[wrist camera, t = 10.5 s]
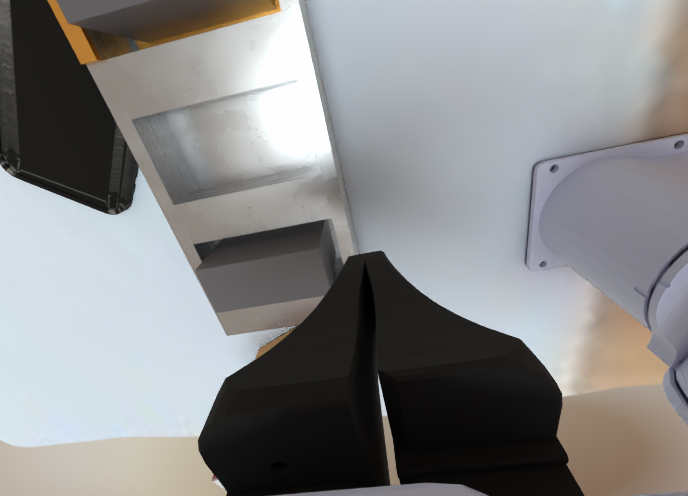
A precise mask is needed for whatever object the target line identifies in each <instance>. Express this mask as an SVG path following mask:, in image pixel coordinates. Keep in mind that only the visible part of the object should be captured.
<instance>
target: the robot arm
mask: <svg viewBox="0 0 688 496" xmlns="http://www.w3.org/2000/svg"><path fill="white" fill-rule="evenodd" d="M677 142H678V143H677ZM675 143H677V145H676V146H675V147H674V145H675ZM552 165H555V167H554V169H553V170H552V171H550V167H551V166H552ZM543 261H544V262H543ZM541 262H543V263H542V264H540V263H541ZM539 264H540V265H539ZM526 266H527V267H528V268H529V269H530V270H531V271H537V270H544V269H550V268H557V267H563V266H569V267H571V268H572V269H573V270H574V271H576V272H577V273H578V274H579V275H581V276H582V277H583V278H584V279H586V280H587V281H588V282H589V283H591V284H592V285H593V286H594V287H596V288H597V289H598V290H600V291H601V292H602V293H603V294H605V295H606V296H607V297H608V298H610V299H611V300H612V301H613V302H615V303H616V304H617V305H618V306H620V307H621V308H622V309H623V310H625V311H626V312H627V313H628V314H630V315H631V316H632V317H633V318H635V319H636V320H637V321H638V322H640V323H641V324H642V325H643V326H645V327H646V328H647V329H648V330H650V331H651V332H652V337H651V340H650V342H649V344H648V345H647V348H648V349H649V350H650V351H652V352H653V353H654V354H655V355H656V356H657V357H659V358H660V359H661V360H662V361H663V362H664V363H666V364H667V365H668V366H669V367H670V368H669V369H668V370H667V372H666V373H665V374H664V379H663V387H664V391H665V394H666V396H667V398H668V400H669V401H670V403H671V405H672V406H673V407H674V409H675V410H676V412H677V413H678V414H679V416H680V417H681V418H682V419H683V420H684V422H685V423H686V424H687V425H688V133H686V134H680V135H675V136H670V137H665V138H660V139H655V140H650V141H645V142H639V143H634V144H629V145H624V146H619V147H614V148H609V149H603V150H598V151H593V152H588V153H583V154H578V155H573V156H568V157H562V158H557V159H552V160H547V161H543V162H540V163H539V164H537V165H536V167H535V169H534V177H533V189H532V201H531V213H530V225H529V237H528V249H527V261H526ZM378 375H379V380H380V384H381V389H382V393H383V397H384V402H385V406H386V411H387V415H388V420H389V424H390V428H391V433H392V437H393V444H394V452H395V461H396V469H397V475H398V478H399V480H400V484H401V485H393V486H390V479H389V470H388V462H387V454H386V446H385V437H384V429H383V422H382V412H381V403H380V395H379V386H378ZM561 409H562V393H561V391H560V389H559V387H558V385H557V383H556V382H555V380H554V379H553V377H552V376H551V374H550V373H549V372H548V370H547V369H546V368H545V366H544V365H543V364H542V363H541V362H540V360H539V359H538V358H537V357H536V356H535V355H534V354H533V353H532V351H531V350H530V349H529V348H528V347H527V346H526V345H525V344H524V343H523V342H522V340H520V339H518V338H515V337H513V336H510V335H507V334H504V333H501V332H498V331H495V330H492V329H489V328H486V327H484V326H481V325H479V324H477V323H474V322H472V321H470V320H467V319H465V318H463V317H461V316H459V315H457V314H455V313H453V312H451V311H449V310H447V309H446V308H444V307H442V306H440V305H439V304H437V303H435V302H434V301H432V300H431V299H430V298H428V297H427V296H425V295H424V294H423V293H421V292H420V291H419V290H418V289H416V288H415V287H414V286H413V285H412V284H411V283H409V282H408V281H407V280H406V279H405V278H404V277H403V276H402V275H401V274H400V273H399V272H398V271H397V270H396V268H395V267H394V266H393V265H392V264H391V262H390V261H389V260H388V258H387V257H386V255H385V253H384V252H382V251H376V252H370V253H364V254H358V255H353V256H349V257H348V258H347V260H346V262H345V264H344V265H343V267H342V269H341V271H340V273H339V275H338V276H337V278H336V280H335V281H334V283H333V284H332V286H331V288H330V289H329V290H328V292H327V293H326V295H325V296H324V297H323V299H322V300H321V302H320V303H319V304H318V305H317V307H316V308H315V309H314V310H313V311H312V312H311V313H310V314H309V316H308V317H307V318H306V319H305V320H304V321H303V322H302V323H300V324H299V325H298V326H297V327H296V328H295V329H294V330H293V331H292V332H291V333H290V334H288V335H287V336H286V337H285V338H284V339H283V340H281V341H280V342H279V343H278V344H276V345H275V346H274V347H272V348H271V349H270V350H268V351H267V352H266V353H264V354H263V355H261V356H260V357H259V358H257V359H256V360H254V361H253V362H251V363H249V364H248V365H246V366H245V367H243V368H242V369H240V370H238V371H237V372H235V373H234V374H232V375H230V376H229V377H227V378H226V379H225V381H224V383H223V385H222V387H221V389H220V391H219V393H218V395H217V397H216V399H215V401H214V404H213V406H212V409H211V411H210V413H209V416H208V418H207V420H206V423H205V425H204V427H203V430H202V432H201V434H200V437H199V439H198V445H199V446H198V447H199V452H200V454H201V456H202V457H203V460H204V461H205V463H206V465H207V466H208V467H209V469H210V470H211V471H212V473H213V474H214V475H215V476H216V478H217V479H218V480H219V482H220V483H221V484H222V486H223V487H224V488H225V490H226V491H227V495H226V496H584V494H583V492H582V491H581V489H580V487H579V485H578V484H577V482H576V481H575V479H574V477H573V475H572V473H571V472H570V470H569V469H568V466H567V465H566V463H568V460H569V459H568V456H567V453H566V452H565V450H564V448H563V447H562V445H561V443H560V442H559V440H558V438H557V437H556V435H557V429H558V425H559V419H560V414H561ZM633 496H688V491H686V492H674V493H659V494H646V495H633Z"/></svg>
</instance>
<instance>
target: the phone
mask: <svg viewBox="0 0 688 496" xmlns="http://www.w3.org/2000/svg"><path fill="white" fill-rule="evenodd" d="M0 165H1V166H2V167H3V168H4V170H5V171H7V172H8V173H9V174H10V175H12V176H14V177H16V178H18V179H20V180H23V181H25V182H28V183H30V184H33V185H35V186H38V187H40V188H43V189H45V190H48V191H50V192H53V193H56V194H58V195H61V196H63V197H66V198H68V199H71V200H73V201H76V202H78V203H81V204H83V205H86V206H88V207H91V208H93V209H96V210H99V211H101V212H104V213H107V214H110V215H116V214H119V213H121V212H123V211H125V210H127V209H128V208H129V207H130V206H131V204H132V200H133V194H134V187H135V180H136V175H137V168H138V163H137V161H136V160H135V158H134V156H133V154H132V152H131V150H130V148H129V146H128V144H127V142H126V140H125V138H124V136H123V135H122V133H121V131H120V129H119V127H118V125H117V123H116V121H115V119H114V117H113V115H112V113H111V111H110V109H109V108H108V106H107V104H106V102H105V100H104V98H103V96H102V94H101V92H100V90H99V88H98V86H97V84H96V83H95V81H94V79H93V77H92V75H91V73H90V71H89V69H88V67H87V65H81V63H80V61H79V60H78V58H77V56H76V54H75V52H74V50H73V48H72V46H71V44H70V42H69V40H68V39H67V37H66V35H65V33H64V31H63V29H62V27H61V25H60V23H59V21H58V20H57V18H56V16H55V14H54V12H53V10H52V8H51V6H50V4H49V2H48V1H47V0H0Z"/></svg>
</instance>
